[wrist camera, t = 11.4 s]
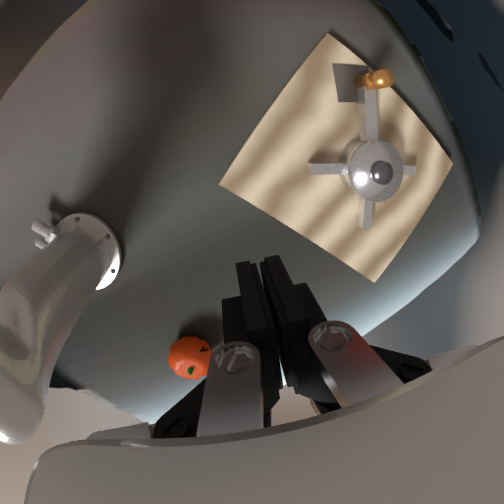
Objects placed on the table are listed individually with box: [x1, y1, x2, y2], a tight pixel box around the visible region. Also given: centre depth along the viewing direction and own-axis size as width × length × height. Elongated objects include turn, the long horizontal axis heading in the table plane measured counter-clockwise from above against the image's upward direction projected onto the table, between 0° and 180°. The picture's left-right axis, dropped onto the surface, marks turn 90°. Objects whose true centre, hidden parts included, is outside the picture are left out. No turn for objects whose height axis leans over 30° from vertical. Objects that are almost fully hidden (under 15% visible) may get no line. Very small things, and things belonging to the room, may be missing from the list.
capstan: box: [307, 69, 417, 229], centre depth 30 cm, size 22×17×6 cm
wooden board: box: [219, 33, 453, 283], centre depth 35 cm, size 30×26×2 cm
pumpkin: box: [168, 336, 213, 379], centre depth 43 cm, size 8×8×7 cm
